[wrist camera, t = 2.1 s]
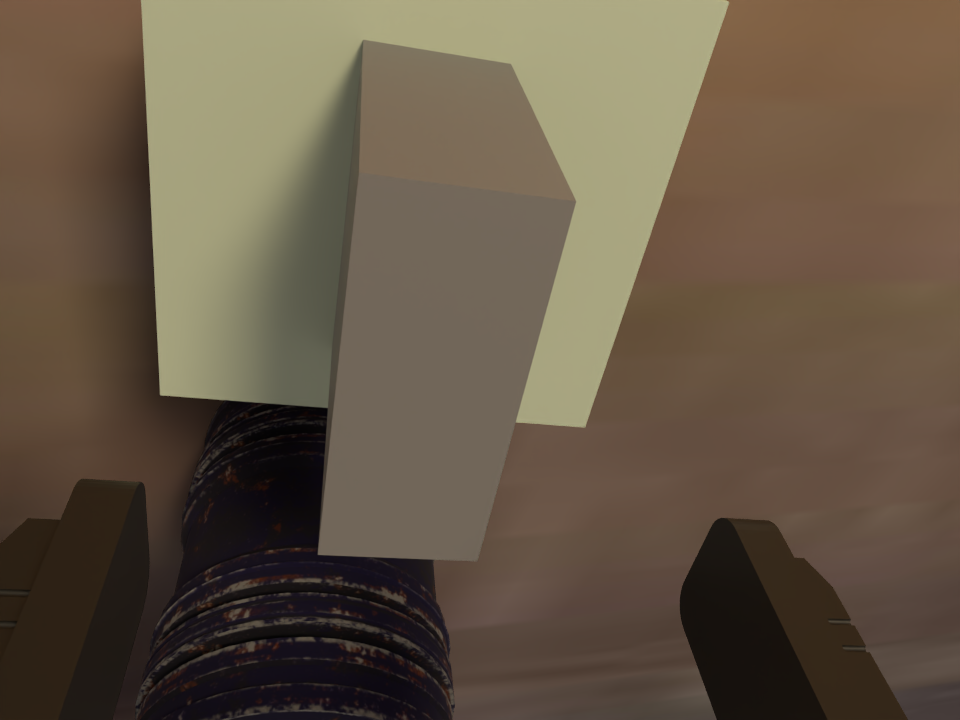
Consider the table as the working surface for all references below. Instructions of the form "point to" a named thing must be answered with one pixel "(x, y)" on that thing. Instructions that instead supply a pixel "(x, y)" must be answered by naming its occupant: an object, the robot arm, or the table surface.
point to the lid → (409, 226)
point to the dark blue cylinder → (287, 595)
